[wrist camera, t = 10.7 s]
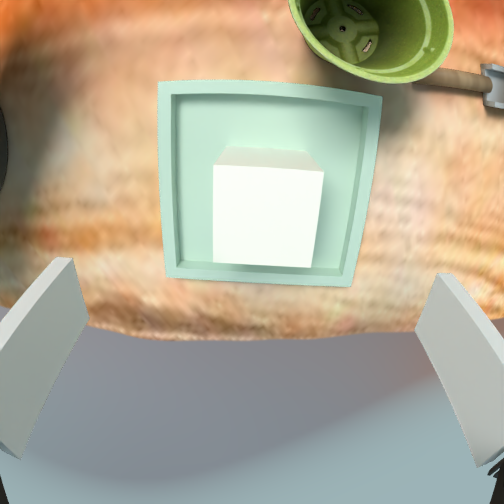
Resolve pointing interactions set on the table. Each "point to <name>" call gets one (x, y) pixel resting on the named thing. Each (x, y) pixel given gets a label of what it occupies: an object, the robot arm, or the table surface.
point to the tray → (264, 136)
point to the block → (265, 206)
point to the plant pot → (378, 36)
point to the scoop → (472, 82)
